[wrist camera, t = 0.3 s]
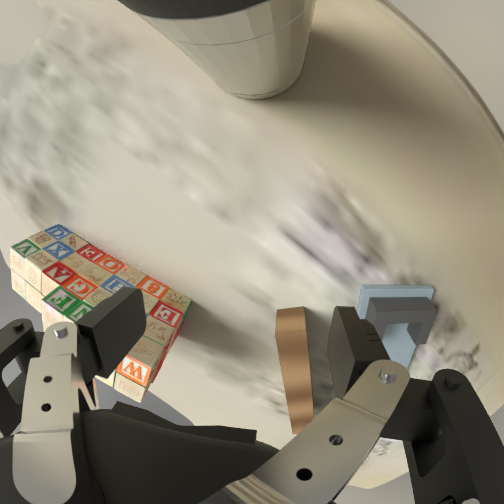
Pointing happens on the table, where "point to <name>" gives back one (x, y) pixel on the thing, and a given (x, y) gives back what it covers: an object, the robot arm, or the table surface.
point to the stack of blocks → (96, 298)
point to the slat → (295, 365)
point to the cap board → (399, 316)
